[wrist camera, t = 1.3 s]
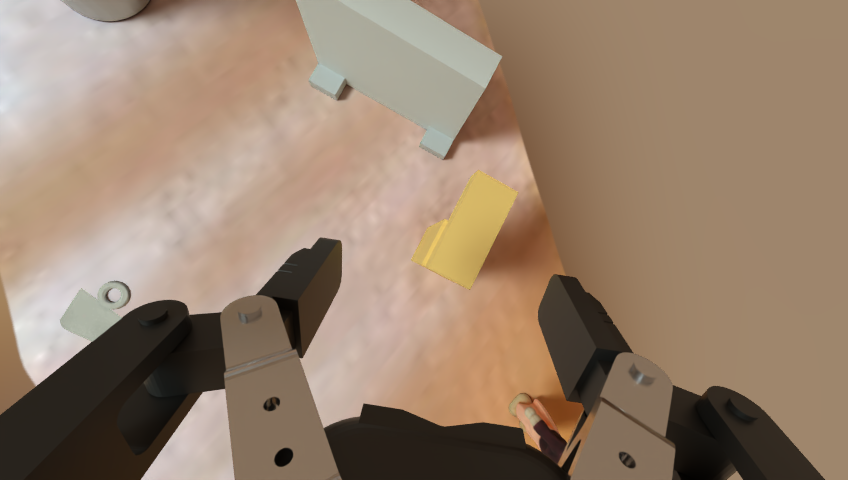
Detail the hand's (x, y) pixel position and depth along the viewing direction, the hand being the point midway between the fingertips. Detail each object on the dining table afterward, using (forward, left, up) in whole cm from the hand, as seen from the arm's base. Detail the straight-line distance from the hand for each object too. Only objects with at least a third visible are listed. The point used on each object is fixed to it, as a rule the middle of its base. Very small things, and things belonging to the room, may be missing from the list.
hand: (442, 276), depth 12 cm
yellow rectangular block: (+3, +4, -22) cm, 22 cm away
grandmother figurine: (+20, -9, -22) cm, 31 cm away
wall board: (-9, +15, -22) cm, 28 cm away
